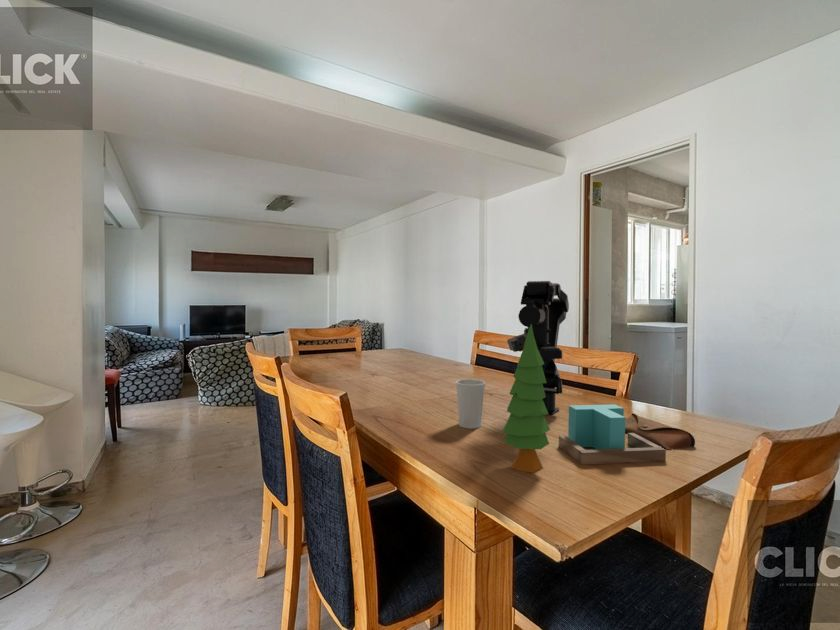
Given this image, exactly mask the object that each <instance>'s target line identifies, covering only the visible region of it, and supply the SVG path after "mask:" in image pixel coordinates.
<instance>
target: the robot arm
mask: <svg viewBox="0 0 840 630" xmlns="http://www.w3.org/2000/svg"><path fill="white" fill-rule="evenodd" d="M556 297H557V298H556ZM520 305H522V306H523V305H525V306H523V307H521V308H520V310H519V312H518V321H519V323H520V324H521V325H522V326H524V327H526V328H524V330H523V333H522V334H519V335H515V336H513V337H511V338H508V339H507V340H506V341H507V344H508V347H509V350H510V351H513V353H517V352H522V351H523V348H524V344H525V340H526V336H527V333H528V331H529V328H530V325H531V324H532V329H533V334H534V338H535V341H536V345H537V348H538V351H539V353H540V355H541V357H542V360H543V362H544V364H543V365H542V368H543V372H544V375H545V379H546V383H542V384H543V388H544V392H545V396H546V397H545V398H543V402H544V404H545V407H546V409H547V411H548V414H547V415H554V414H555V413H558V412H559V411H560V408H558V407H556V395H559V394H563V381H562V378H561V375H560V374H559V370H558V368H557V365H556V360H561V359H562V360H563V351H562V349H561V348H559V347H557V345H558V340H559V332H560V325H561V324H562V323H563V322H564V321H565V319H566V318H567V313H569V309H570V306H569V305H570V303H569V299H568V294H567V293H565V291H564V290H562V289H561V284H560V283H558V282H557V283H554V282H552V281H550V280H537V281H536V280H534V281H533V280H531V281H530V280H529V281H527V282H526V285H524V286H523V291H522V296H521V300H520Z"/></svg>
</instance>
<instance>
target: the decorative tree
mask: <svg viewBox="0 0 840 630" xmlns="http://www.w3.org/2000/svg"><path fill="white" fill-rule="evenodd" d="M543 364H544V362H543V360H542V357H541V355H540V353H539V351H538V348H537V345H536V341H535V338H534V334H533V329H532V324H531V325H530V328H529V331H528V333H527V336H526V340H525V344H524V348H523V350H522V351H521V354H520V357H519V359H518V362H517V365H516V369H515V371H514V373H513V378H514V379H515V380H514V382H513V384H512V387H511V388H510V390H509V395H510V396H512V397H511V399H510V402H509V404H508V405H507V408H506V412H507V413H509V414H510V415H509V417H508V418H507V421H506V424H505V425H504V428H503V431H502V434H506V436H505V439H504V444H508V445H509V446H512V447H514V448H517V449H518V453H517V455H516V456H515V458H514V459H513V461H512V467H511V468H512V469H515V470H517V471H520V472H526V473H536V472H538V471H540V470H542V469H544V467H543V465H542V463H541V460H540V458H539V456H538V454H537V452H536V451H537V450H542V449H544V448H545V447H547V446H549V445H550V442H549V440H548V436H547V432H548V431H551V428H550V426H549V424H548V422H547V420H546V418H545V416H546V415H549V414H548V411H547V409H546V407H545V404H544V402H543V398H545V397H546V396H545V392H544V388H543V384H542V383H546V379H545V375H544V372H543V368H542V365H543Z"/></svg>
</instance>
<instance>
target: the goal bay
mask: <svg viewBox="0 0 840 630" xmlns="http://www.w3.org/2000/svg"><path fill="white" fill-rule="evenodd" d="M627 444H628V445H630V446H632V447H629V448H627V447H625V448H622V449H585V448H584V447H581V446H579V445H578V444H576V443H575V442H574V441H572V440H571V439H570V438H568V435H565V434H564V435H563V434H561V435H558V446H559V447H560V448H561V449H562V450H563V451H564V452H566V453H567V454H569V456H571V457H572V458H573V459H575V460H576V461H577V462H578V463H579V464H581V465H583V466H584V465H598V464H599V465H601V464H602V465H604V464H605V465H606V464H623V463H624V464H626V463H625V462H630V463H649V462H651V461H653V462H666V459H667V457H666V453H667V449H664V448H662V447H660V446H658V445H656V444H654V443H652V442H650V441H648V440H646V439H645V438H643V437H641V436H639V435H637V434H635V433H627Z"/></svg>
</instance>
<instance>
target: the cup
mask: <svg viewBox="0 0 840 630" xmlns="http://www.w3.org/2000/svg"><path fill="white" fill-rule="evenodd" d="M455 383H456V397H457V409H458V410H457V413H458V426H459V427H460V428H463V429H470V430H471V429H472V430H473V429H479V428H481V427H482V423H483V420H482V418H483V409H484V408H483V406H484V397H485V396H484V395H485V387H486V381H484V380H480V379H475V378H473V379H471V378H463V379H459V380H456V381H455Z"/></svg>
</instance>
